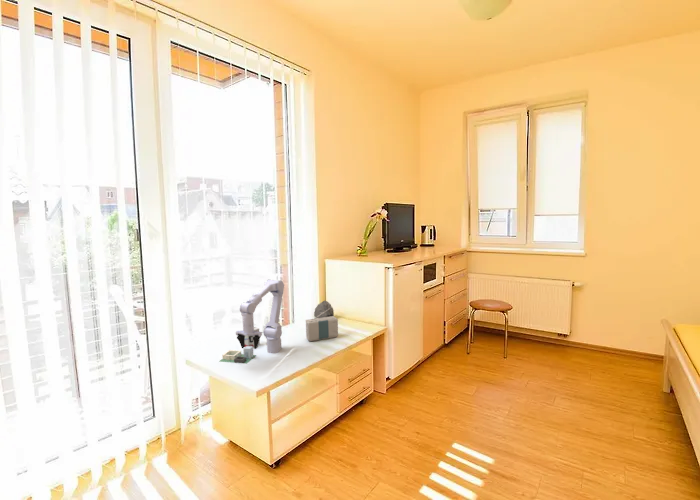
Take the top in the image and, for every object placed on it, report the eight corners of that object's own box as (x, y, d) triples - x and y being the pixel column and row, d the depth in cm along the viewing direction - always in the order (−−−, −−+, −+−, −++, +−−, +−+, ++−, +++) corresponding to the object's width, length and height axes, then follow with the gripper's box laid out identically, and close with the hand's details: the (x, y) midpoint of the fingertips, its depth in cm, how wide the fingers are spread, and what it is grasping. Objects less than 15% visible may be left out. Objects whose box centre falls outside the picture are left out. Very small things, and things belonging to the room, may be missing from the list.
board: (230, 354, 215) (230, 353, 215) (256, 356, 212) (256, 355, 212) (218, 363, 204) (218, 361, 204) (246, 365, 200) (246, 363, 200)
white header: (229, 354, 214) (229, 350, 214) (241, 354, 212) (241, 350, 212) (222, 359, 206) (221, 355, 206) (234, 360, 204) (233, 356, 204)
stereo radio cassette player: (308, 342, 234) (308, 312, 232) (305, 338, 241) (304, 309, 239) (338, 337, 242) (338, 308, 240) (334, 334, 250) (333, 305, 248)
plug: (247, 355, 211) (246, 346, 210) (253, 356, 210) (253, 346, 209) (243, 358, 207) (243, 348, 206) (249, 359, 206) (249, 349, 205)
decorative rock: (334, 319, 285) (334, 300, 284) (330, 321, 279) (330, 302, 278) (317, 316, 293) (317, 298, 291) (312, 318, 287) (312, 300, 285)
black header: (234, 362, 202) (234, 359, 202) (237, 359, 205) (237, 356, 205) (243, 363, 201) (242, 359, 200) (246, 360, 204) (246, 357, 204)
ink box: (248, 350, 223) (247, 331, 222) (244, 348, 226) (243, 330, 225) (260, 346, 229) (259, 328, 228) (256, 344, 232) (255, 326, 231)
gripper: (232, 325, 195) (233, 350, 197) (257, 327, 192) (258, 351, 194) (238, 321, 202) (240, 345, 204) (263, 322, 199) (264, 346, 201)
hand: (249, 348), depth 199 cm, fingers open, 7 cm apart
